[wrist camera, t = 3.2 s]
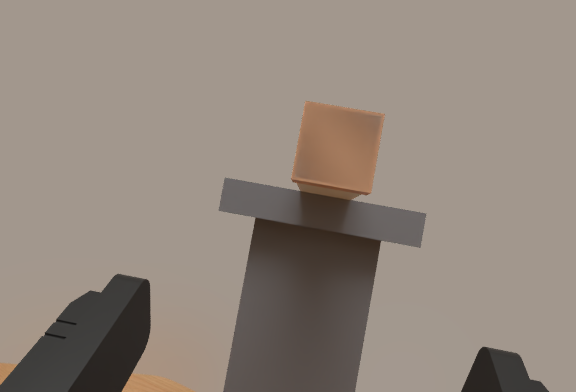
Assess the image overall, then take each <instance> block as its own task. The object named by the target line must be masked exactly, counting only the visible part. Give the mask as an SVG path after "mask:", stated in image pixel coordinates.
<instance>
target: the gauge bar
mask: <svg viewBox="0 0 576 392" xmlns="http://www.w3.org/2000/svg"><path fill="white" fill-rule="evenodd" d="M384 115H385V114H381V113H376V112H370V111H364V110H357V109H352V108H345V107H339V106H334V105H328V104H322V103H316V102H310V101H305V106H304V112H303V117H302V123H301V128H300V134H299V139H298V145H297V151H296V156H295V161H294V166H293V172H292V178H291V180H292V181H293V182H295V183H297V185H298V187H299V189H300V191H302V192H308V193H313V194H319V195H325V196H330V197H336V198H341V199H347V200H352V199H354V198H355V197H357V196H359V195H361V194H363V195H368V194H370V193H371V190H372V184H373V178H374V173H375V167H376V161H377V156H378V150H379V145H380V139H381V133H382V127H383V121H384Z"/></svg>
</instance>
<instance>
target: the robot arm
mask: <svg viewBox="0 0 576 392" xmlns="http://www.w3.org/2000/svg"><path fill="white" fill-rule="evenodd" d="M149 334H150V283H149V281H148V280H147V279H142V278H137V277H131V276H126V275H121V274H117V275H115V276H114V277H113V278H112V279H111V281H110V282H109V283H108V285H107V286H106V287H105V288H104V290H103V291H102V292H101V293H100V292H95V291H89V292H88V293H86V294H84V295H82V296H81V297H79V298H78V299H76V300H74V301H73V302H71V303H70V304H69V305H68V306H67V307H66V309H65V310H64V311H63V312H62V313H61V315H60V316H59V317H58V318H57V320H56V322H55V323H53V324H52V325H51V326H50V328H49V329H48V330H47V331H46V332H45V335H44V337H43V336H42V337H41V338H40V339H39V340H38V342H37V343H36V344H35V345H34V346H33V348H32V349H31V350H30V351H29V352H28V353H27V355H26V356H25V357H24V358H23V359H22V360H21V362H20V363H19V364H18V365H17V366H16V367H15V369H14V370H13V371H12V372H11V373H10V375H9V376H8V377H7V378H6V379H5V380H4V382H3V383H2V384H1V385H0V392H122V390H123V388H124V386H125V385H126V383H127V381H128V379H129V377H130V376H131V374H132V372H133V370H134V368H135V366H136V365H137V363H138V361H139V359H140V358H141V356H142V354H143V352H144V350H145V348H146V345H147V342H148V338H149ZM461 392H549V391H548V390H547V389H546V388H545V386H544V385H543V384H542V383H541V382H539V381H534V380H530V379H529V376H528V374H527V371H526V368H525V366H524V363H523V361H522V359H521V357H520V356H519V355H518V354H517V353H513V352H508V351H503V350H498V349H493V348H488V347H482V348H481V349H480V350H479V352H478V354H477V356H476V359H475V361H474V363H473V366H472V368H471V370H470V373H469V375H468V377H467V380H466V382H465V384H464V386H463V389H462V391H461Z"/></svg>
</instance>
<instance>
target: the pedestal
mask: <svg viewBox="0 0 576 392" xmlns="http://www.w3.org/2000/svg"><path fill="white" fill-rule="evenodd" d="M219 211H223V212H229V213H234V214H240V215H245V216H251V217H256V219H255V224H254V230H253V234H252V240H251V245H250V251H249V256H248V261H247V267H246V272H245V278H244V283H243V288H242V294H241V299H240V305H239V310H238V315H237V321H236V326H235V332H234V337H233V342H232V348H231V354H230V359H229V364H228V369H227V375H226V380H225V386H224V391H223V392H355V388H356V382H357V376H358V370H359V365H360V359H361V353H362V347H363V341H364V335H365V330H366V324H367V318H368V313H369V307H370V301H371V295H372V289H373V284H374V277H375V272H376V267H377V261H378V254H379V249H380V243H381V241H387V242H393V243H398V244H403V245H409V246H414V247H419V248H420V247H421V241H422V235H423V229H424V224H425V217H426V214H425V213H420V212H414V211H409V210H403V209H397V208H392V207H386V206H380V205H375V204H369V203H364V202H358V201H353V200H347V199H341V198H336V197H330V196H325V195H319V194H313V193H308V192H302V191H296V190H291V189H285V188H279V187H273V186H269V185H263V184H258V183H252V182H246V181H241V180H235V179H229V178H225V180H224V185H223V190H222V195H221V201H220V207H219Z"/></svg>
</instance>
